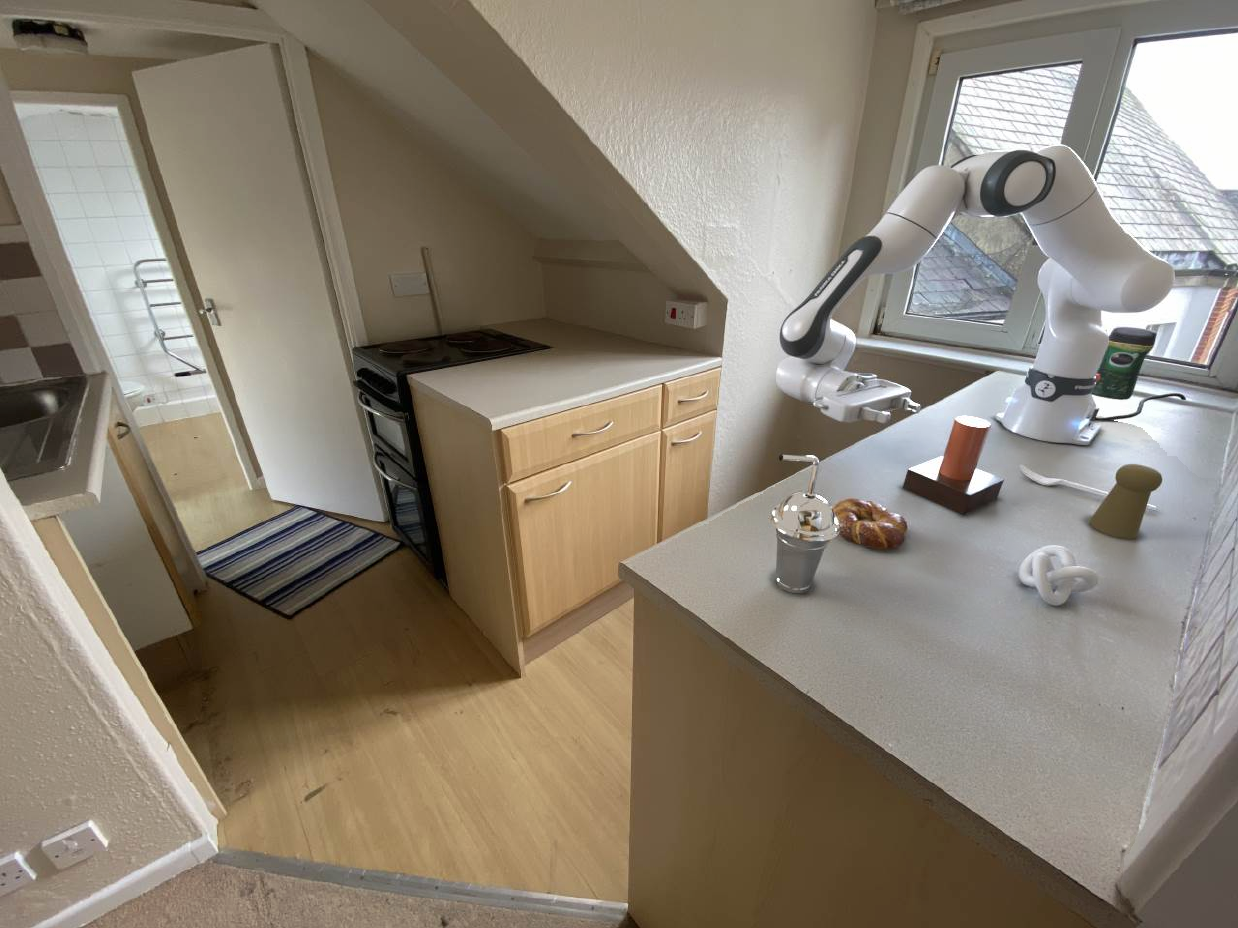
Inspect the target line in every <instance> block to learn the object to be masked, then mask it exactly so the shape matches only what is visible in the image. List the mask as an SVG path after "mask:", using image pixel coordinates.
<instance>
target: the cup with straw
mask: <svg viewBox="0 0 1238 928" xmlns="http://www.w3.org/2000/svg"><path fill="white" fill-rule="evenodd" d="M778 459H779V461H781V462H804V463H805V462H808V463H810V462H811V463H812V469H811V474H810V480H809V485H808V488H807V490H803V491H797V492H793V493H791V494H789V495H788V496H787V497H786V498H784V500H783V501H782V502H781V503H780V504H778V505H776V506H775V507H774V508H773V510H772V513H771V515H770V520H771V524H772V525H773V526H774V527H775V533H776V536H775V537H776V562H775V563H776V565H775V575H776V577H775V583H776V584H777V586H778V587H779V588H780V589H781V590H783V591H785V592H787V593H791V594H797V595H799V594H806V593H807V592H809V590H810V588H811V584H812V583H813V581H814V578H815V576H816V573H817V570H818V568H819V565H820V562H821V559H822V557H823V555H824V551H825V549H826V548H827V547H828V545H829V543H830V541H831V540H833V539H834V538H836V537H837V536H838V535H839V531H840V523H839V520H838V518H837V517H836V516H835V515H834V511H833V507H832V504H831V503H830V502H829V500H827V499H826V498H825V497H824V496H822V495H821V494H819V493H816V492H815V488H816V485H817V484H816V483H817V478H818V473H819V467H820V459H818V457H817V456H815V455H800V454H799V455H795V454H780V455H779V457H778Z"/></svg>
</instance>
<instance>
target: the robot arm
mask: <svg viewBox="0 0 1238 928" xmlns="http://www.w3.org/2000/svg"><path fill="white" fill-rule="evenodd" d="M1018 214H1021V216H1022V217H1023V219H1024V222H1025V223H1026V225H1027V227H1028V228H1029V230H1030V232H1031V234H1032V236H1033V237H1034V239H1035V242H1036V243H1037V245H1038V246H1039V248H1040V249H1041V250H1040V251H1042V253H1043V254H1044V255H1045V256H1046V257H1047V258H1048V259H1047V260H1046V261H1045V262H1044V263H1043V264H1042V266H1041V267H1040V269H1039V271H1038V274H1037V285H1038V289H1039V290H1040V292H1041V293H1042V296H1043V300H1044V310H1045V320H1044V321H1045V322H1044V331H1043V334H1042V338H1041V341H1040V344H1039V347H1038V351H1037V354H1036V356H1035V359H1034V362H1033V364H1032V365H1031V366H1029V369H1028V371H1027V372H1026V374H1025V379H1024V384H1022V385H1020V386H1018V387H1015V388H1014V390H1013V392H1012V394H1011V397H1006V400H1005V403H1007V406H1006V408H1005V410H1004V412H1002V413H997V414H996V416H995V419H996V421H999V422H1001V424H1002V426H1003V427H1004V428H1006V429H1007V430H1009V431H1011V432H1012V433H1015V434H1018V435H1020V436H1023V437H1027V438H1030V439H1034V440H1037V441H1042V442H1049V443H1058V444H1071V445H1079V446H1089V445H1090V444H1091V442H1093V440H1094V438H1095V437H1096V435H1097V434H1098V433H1099V432H1100V429H1101V425H1100V424H1097V423H1096V422H1094V421H1097V422H1099V421H1102V422H1103V421H1105V422H1106V421H1108V422H1109V421H1117V420H1124V419H1132V418H1135V417H1137V416H1139V415H1140V414H1141V413H1142V411H1143V408H1144V404H1145V403H1146V402H1148V401H1151V400H1158V399H1165V398H1170V397H1177V398H1179V399H1181V400H1182V401H1187V398H1186V396H1185V395H1184V394H1182V393H1178V392H1170V393H1164V394H1158V395H1151V396H1146V397H1144V398H1143V399H1141V400H1140V401H1139V403H1138V407H1137V410H1136V411H1135V412H1133V413H1132V412H1131V413H1128V414H1119V415H1114V416H1105V417H1097V416H1098V413H1099V411H1100V407H1097V404H1096V402H1095V400H1094V398H1093V395H1091V393H1092V392H1093V390H1094V387H1095V385H1096V382H1097V381H1098V380H1099V377H1100V374H1096V373H1097V371H1098V368H1099V366H1100V364H1101V361H1102V359H1103V357H1104V354H1105V352H1106V350H1107V347H1108V345H1109V335H1108V333H1107V331H1106V330H1105V328H1104V326H1103V321H1102V312H1107V313H1110V314H1111V313H1112V314H1130V313H1131V314H1132V313H1133V314H1134V313H1143V312H1146V311H1148V310H1151V309H1153V308H1155V307H1157V305H1159V304H1160V303H1162V301H1164V299H1165V298H1167V296H1168V295H1169V294H1170V292H1171V291H1172V289H1173V286H1174V283H1175V277H1176V275H1175V274H1176V273H1175V270H1174V268H1173V266H1172V265H1171V263H1170V262H1168V261H1166V260H1165V259H1162V258H1160V257H1159V256H1156V255H1155V254H1153V253H1152V252H1150V251H1149V250H1148V249H1147V248H1146V247H1144V246H1143V245H1142V244H1141V243H1140V242H1139V241H1138V240H1137V239H1136V238H1135V237H1134V236H1133V235H1132V234H1131V233H1130V232H1129V231H1128V230H1126V229H1125V227H1124V226H1123V225H1121V224H1120V221H1118V220H1117V219H1116V218H1115V216H1114V215H1113V213H1112V211H1111V209H1110V208H1109V205H1108V204H1107V201H1106V200H1105V198H1104V196H1103V194H1102V192H1101V191H1100V188H1099V186H1098V184H1097V182H1096V180H1095V178H1094V176H1093V175H1092V173H1091V171H1090V169H1089V168H1088V167H1087V166H1086V164H1085V163H1084V161H1083V160H1082V159H1081V158H1080V156H1079V155H1078V154H1077V153H1076V152H1075V151H1074V150H1073V149H1072V148H1071V147H1069V146H1068V145H1065V144H1053V145H1048V146H1045V147H1042V148H1040V149H1038V150H1035V151H1033V150H1029V149H1015V150H1012V149H1011V150H1009V149H1008V150H1007V149H1005V150H1004V149H1002V150H1001V149H1000V150H992V151H989V152H985V153H980V154H972V155H969V156H966V157H963V158H961V159H959V160H957V161H956V162H955V163H953V164H952V165H950V166H947V165H941V164H935V165H934V164H933V165H929V166H927V167H925V168H924V169H922V170H920V171H919V172H918V173H917V174H916V175H915V177H913V179H912V180H910V182H909V183H908V184H907V185H906V186H905V187H904V188H903V190H902V191H900V193H899V195H898V196H897V197H896V198H895V199H894V200H893V202H892V204H891V205H890V207H889V208H888V209H887V211H885V214H884V215H883V217H882V218H881V219H880V220H879V222H878V223H877V224H876V226H874V228H873V229H872V230H871V231H870V232H868V234H866V235H865V236H862V237H860V238H859V239H857V240H856V241H854V242H853V243H852V244H851V245H850V246H849V247H848V248H847V249H846V250H845V251H844V253H843V254H842V255H841V256H840V257H839V258H838V260H837V261H836V262H835V264H833V266H831V268H830V269H829V270H828V272H827V273H826V274H825V275H824V277H822V279H821V280H820V281H819V282H818V284H817V285H816V286H815V288H814V289H813V290H812V291H811V292H810V294H809V295H808V296H807V297H806V298H805V299H804V300H803V301H802V302H801V303H800V304H799V305H797V307H795V308H794V309H793V310H792V311H791V312H790V313H789V314H788V315H787V316H786V317H785V318H784V320H783V322H782V324H781V327H780V330H779V344H780V347H781V349H782V351H783V352H784V353H785V354H786V355H787V356H788V357H785V358H783V359H782V360H781V361H780V362H779V364H778V366H777V368H776V371H775V382H776V385H777V387H778V388H779V390H780V391H781V392H783V393H784V394H786V395H787V396H789V397H791V398H793V399H795V400H797V401H799V402H803V403H805V404H812V405H813V406H814V407H816V408H819V409H820V412H821V414H823V415H825V416H826V417H829V418H831V419H833V420H835V421H837V422H839V423H845V424H850V423H853V422H857V421H861V420H863V421H869V422H870V421H871V422H876V423H877V422H878V423H880V424H886V423H889V422H890V421H891V417H892V414H891V413H890V412H893V411H896V410H905V411H906V413H908V414H911V415H916V414H919V413H920V412H921V409H922V406H921V404H919V403H917V402H914V401H912V400H911V396H912V391H911V390H910V388H908V387H906V386H903V385H900V384H898V383H896V382H892V381H889V380H886V379H882V378H877V376H878V375H876V374H874V373H871V372H864V373H863V372H851V371H845V370H846V368H847V366H848V365H849V363H850V362H851V360H852V358H853V356H854V355H855V352H856V349H857V336H856V335H855V332H854V331H853V330H852V329H851V328H849V327H847V326H846V325H844V324H843V323H840V322H838V320H837V321H836V320H834V319H833V318H832V317H833V315H834V313H835V312H836V311H837V310H838V308H839V307H840V306H841V305H842V304H843V302H844V301H845V300H846V299H847V298H848V296H850V295H851V293H852V292H853V291H854V289H855V288H856V287H857V286H858V285H859V284H860V283H861V282H862V281H864V280H866V279H867V278H869V277H872V276H875V275H892V274H893V275H894V274H895V275H896V274H899V273H904V272H907V271H909V270H911V269H913V268H914V267H916V265H918V264H919V263H920V262H921V261H922V260H923V259H924V258H925V257H926V256H927V254H928V253H929V252H930V250H931V249H932V248H933V247H934V245H935V243H936V242H937V241H938V239H939V238H940V236H941V235H942V234H943V232H944V231H945V229H946V228H947V226H948V225H949V224H950V223H951V222H952V221H953V220H954V219H955V218H956V217H958V216H966V217H967V216H968V217H973V218H985V217H986V218H987V217H997V218H1007V217H1010V216H1015V215H1018Z"/></svg>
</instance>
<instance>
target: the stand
mask: <svg viewBox="0 0 1238 928" xmlns="http://www.w3.org/2000/svg"><path fill="white" fill-rule="evenodd" d="M943 456H944V455H941V456H938V457H936V458H933V459H931V460H927V461H925V462H922V463H920V464H917V465H915V466H912V467H910V468H907V471H906V475H905V477H904V482H903V485H902V489H904V490H905V491H907V492H910V493H912V494H914V495H917V496H918V497H920V498H923V499H925V500H927V501H929V502H932V503H934V504H935V505H936V504H937V506H938V505H939V506H940V507H943V508H944V509H947V510H950V511H952V512H954V513H956V514H958V515H960V516H966V515H967V514H969V513H972V512H973V511H976V510H978V509H980V508H982V507H984V506H985V505H988V504H990V503H992V502H994V501H996V500H998V498H999V495H1000V492H1001V490H1002V488H1003V485H1004V482H1005V479H1004V478H1001V477H999V476H997V475H994V474H991V473H989V472H986V471H983V470H980V469H978V468H976V469H975V472H974V475H973V478H972V479H971V480H968V481H960V480H954V479H951V478H948V477H946V476H944V475H942V474H941V473H940V472H939V468H940V465H941V462H942V459H943Z"/></svg>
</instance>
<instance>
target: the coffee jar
mask: <svg viewBox="0 0 1238 928" xmlns="http://www.w3.org/2000/svg"><path fill="white" fill-rule="evenodd" d="M1108 337H1109V345H1108V347H1107V350H1106V352H1105V354H1104V357H1103V359H1102V361H1101V364H1100V366H1099V368H1098V371H1097V373H1096V374H1100V377H1099V380H1098V381H1097V382H1096V385H1095V387H1094V390H1093V392H1092V393H1091V395H1092V396H1095V397H1098V398H1103V399H1110V400H1111V399H1112V400H1120V401H1123V400H1124V401H1127V400H1129V399H1131V398H1132V396H1133V394H1134V391H1135V388H1136V385H1137V382H1138V378H1139V375H1140V372H1141V370H1142V366H1143V364H1144V361H1145V359H1146V357H1147V355H1148V354H1149V353H1150V352H1151V351H1152V350H1153V349H1154V347H1155V344H1156V339H1157V331H1156V330H1153V329H1147V328H1141V327H1133V326H1115V327H1114V328H1113V329H1112V331H1111V332H1110V333H1109V335H1108Z"/></svg>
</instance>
